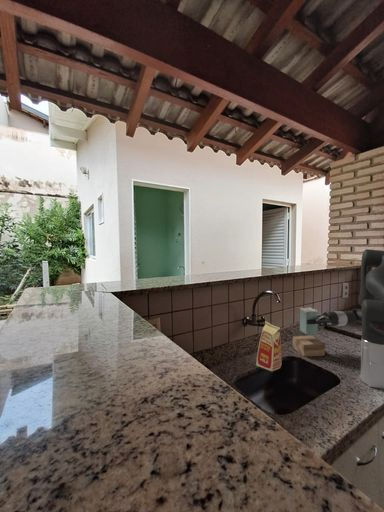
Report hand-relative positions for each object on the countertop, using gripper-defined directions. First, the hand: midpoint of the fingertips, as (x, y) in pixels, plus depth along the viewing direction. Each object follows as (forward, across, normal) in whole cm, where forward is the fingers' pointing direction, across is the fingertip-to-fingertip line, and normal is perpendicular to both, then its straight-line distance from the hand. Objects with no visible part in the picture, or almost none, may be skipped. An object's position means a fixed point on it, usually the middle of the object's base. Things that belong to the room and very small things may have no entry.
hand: (304, 320), depth 123 cm
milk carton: (+24, +13, +16) cm, 31 cm away
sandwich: (-2, 0, +16) cm, 17 cm away
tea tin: (-2, 0, +6) cm, 7 cm away
